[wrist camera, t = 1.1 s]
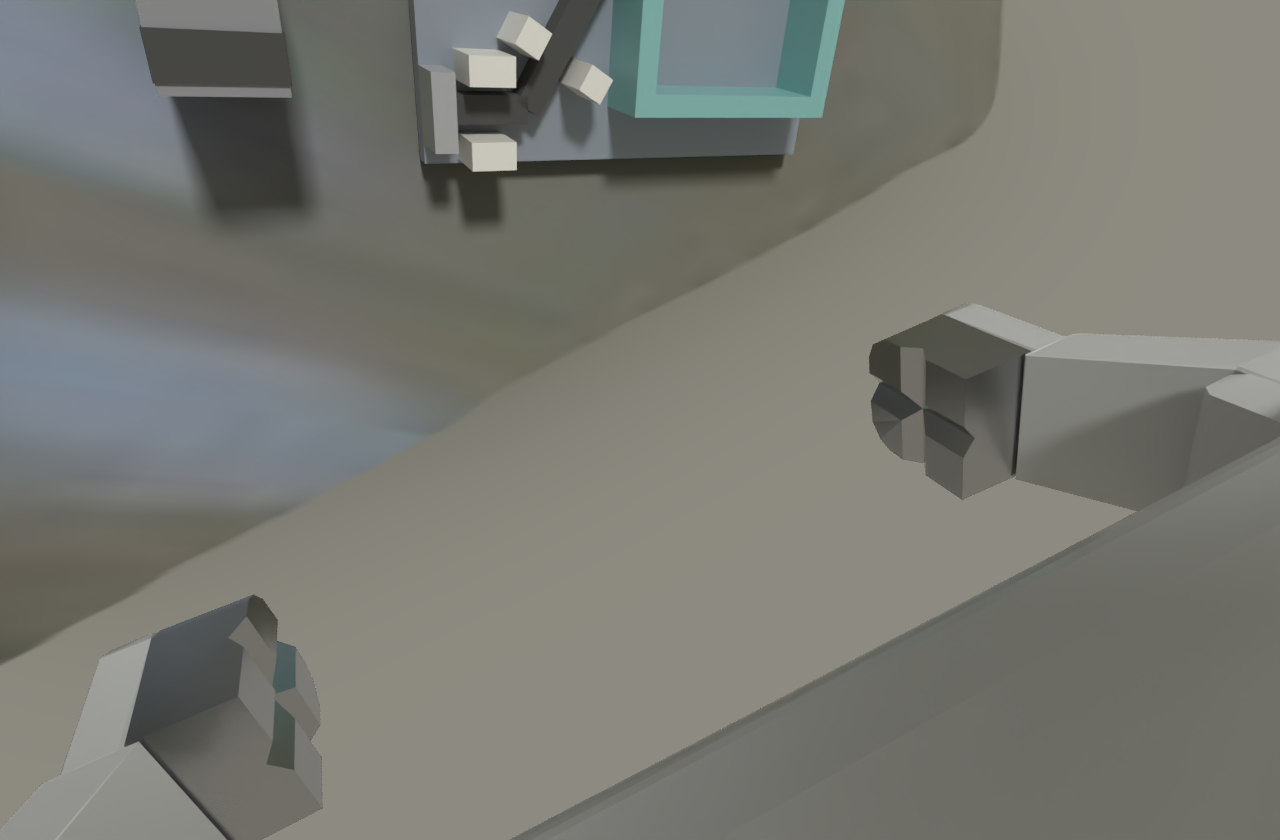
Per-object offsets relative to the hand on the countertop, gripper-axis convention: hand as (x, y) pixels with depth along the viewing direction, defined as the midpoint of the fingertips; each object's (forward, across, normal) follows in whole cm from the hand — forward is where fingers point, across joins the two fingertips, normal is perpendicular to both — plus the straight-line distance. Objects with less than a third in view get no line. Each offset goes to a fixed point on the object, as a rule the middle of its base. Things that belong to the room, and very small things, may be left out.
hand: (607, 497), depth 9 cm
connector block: (+28, +4, -8) cm, 30 cm away
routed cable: (+29, -7, -4) cm, 30 cm away
